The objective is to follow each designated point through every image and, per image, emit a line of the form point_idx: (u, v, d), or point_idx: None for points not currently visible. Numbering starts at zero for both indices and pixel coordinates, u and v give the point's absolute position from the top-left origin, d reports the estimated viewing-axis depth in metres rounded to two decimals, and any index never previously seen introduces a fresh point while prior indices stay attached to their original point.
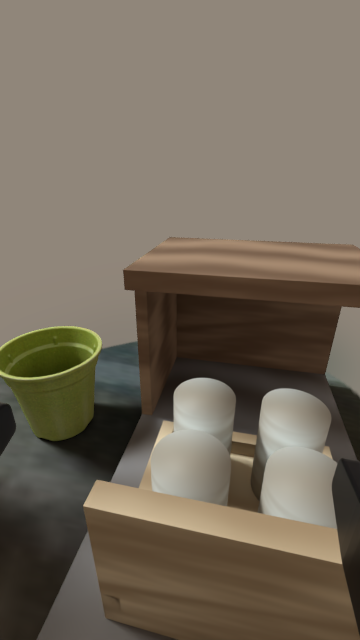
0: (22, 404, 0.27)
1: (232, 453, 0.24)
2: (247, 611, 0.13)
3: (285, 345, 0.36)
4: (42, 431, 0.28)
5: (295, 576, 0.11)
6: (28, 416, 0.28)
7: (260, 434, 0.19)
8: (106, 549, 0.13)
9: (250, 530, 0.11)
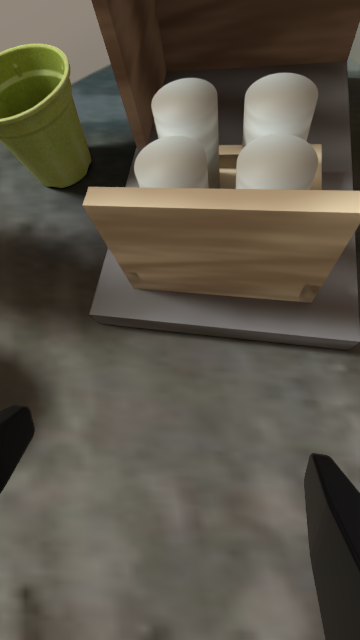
0: (16, 153, 0.27)
1: (225, 168, 0.25)
2: (221, 263, 0.18)
3: (300, 22, 0.27)
4: (48, 179, 0.30)
5: (249, 229, 0.15)
6: (28, 166, 0.29)
7: (244, 134, 0.19)
8: (114, 238, 0.18)
9: (214, 201, 0.14)
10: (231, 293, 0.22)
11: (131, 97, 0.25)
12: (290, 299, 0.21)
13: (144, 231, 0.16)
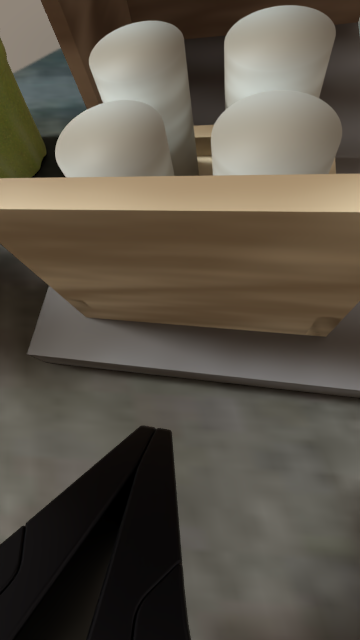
0: None
1: (206, 156, 0.19)
2: (196, 290, 0.12)
3: None
4: None
5: (232, 242, 0.09)
6: None
7: (226, 102, 0.13)
8: (32, 257, 0.12)
9: (169, 197, 0.08)
10: (215, 325, 0.16)
11: (81, 66, 0.19)
12: (296, 332, 0.15)
13: (71, 247, 0.11)
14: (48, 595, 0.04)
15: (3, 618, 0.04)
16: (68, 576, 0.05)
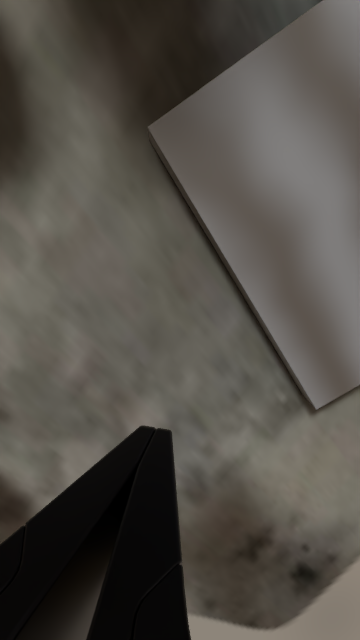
0: None
1: None
2: None
3: None
4: None
5: None
6: None
7: None
8: None
9: None
10: None
11: None
12: None
13: None
14: (48, 595, 0.04)
15: (3, 618, 0.04)
16: (68, 576, 0.05)
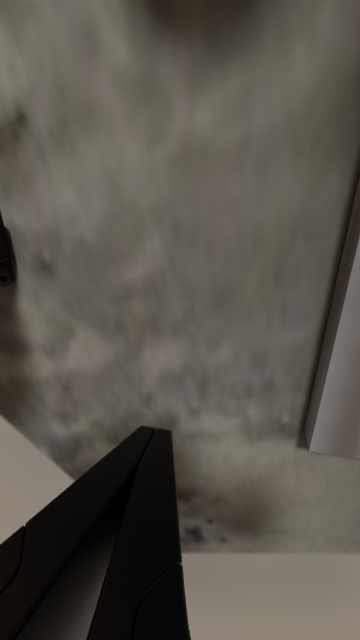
0: None
1: None
2: None
3: None
4: None
5: None
6: None
7: None
8: None
9: None
10: None
11: None
12: None
13: None
14: (48, 595, 0.04)
15: (3, 618, 0.04)
16: (68, 576, 0.05)
